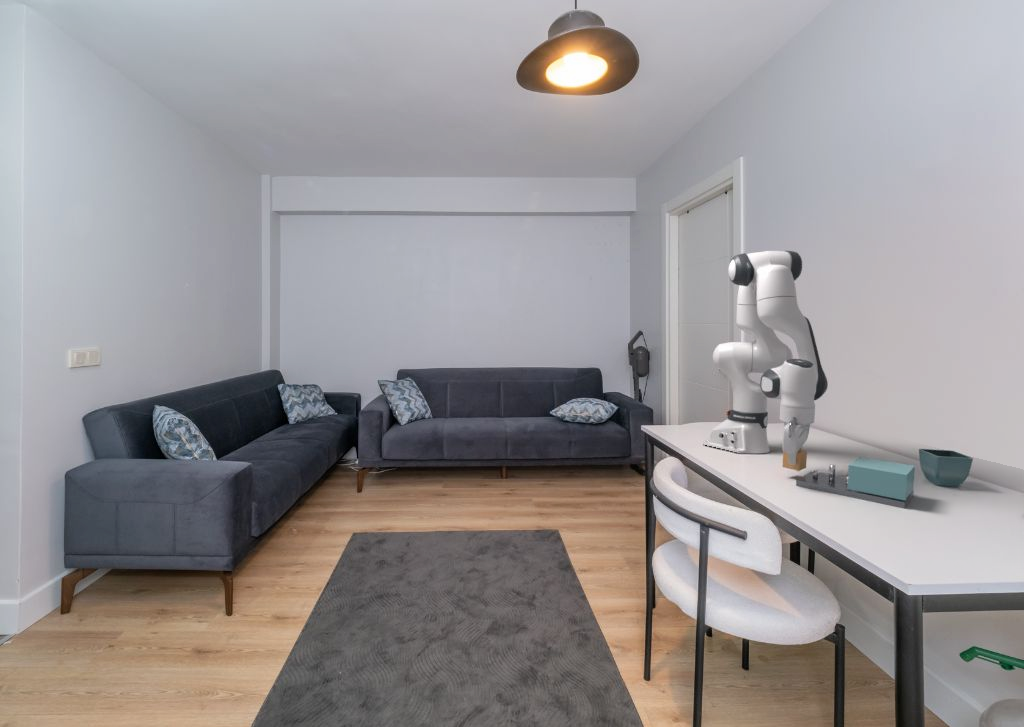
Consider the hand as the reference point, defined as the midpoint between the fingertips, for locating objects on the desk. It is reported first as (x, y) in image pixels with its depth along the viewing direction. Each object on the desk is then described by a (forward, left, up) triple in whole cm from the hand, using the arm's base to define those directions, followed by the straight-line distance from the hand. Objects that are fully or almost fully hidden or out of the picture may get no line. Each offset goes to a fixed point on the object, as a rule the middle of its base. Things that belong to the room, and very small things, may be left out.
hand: (794, 461), depth 145 cm
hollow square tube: (0, 0, -2) cm, 2 cm away
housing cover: (+21, -1, -3) cm, 21 cm away
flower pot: (+31, +25, -5) cm, 40 cm away
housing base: (+15, -1, -5) cm, 16 cm away
